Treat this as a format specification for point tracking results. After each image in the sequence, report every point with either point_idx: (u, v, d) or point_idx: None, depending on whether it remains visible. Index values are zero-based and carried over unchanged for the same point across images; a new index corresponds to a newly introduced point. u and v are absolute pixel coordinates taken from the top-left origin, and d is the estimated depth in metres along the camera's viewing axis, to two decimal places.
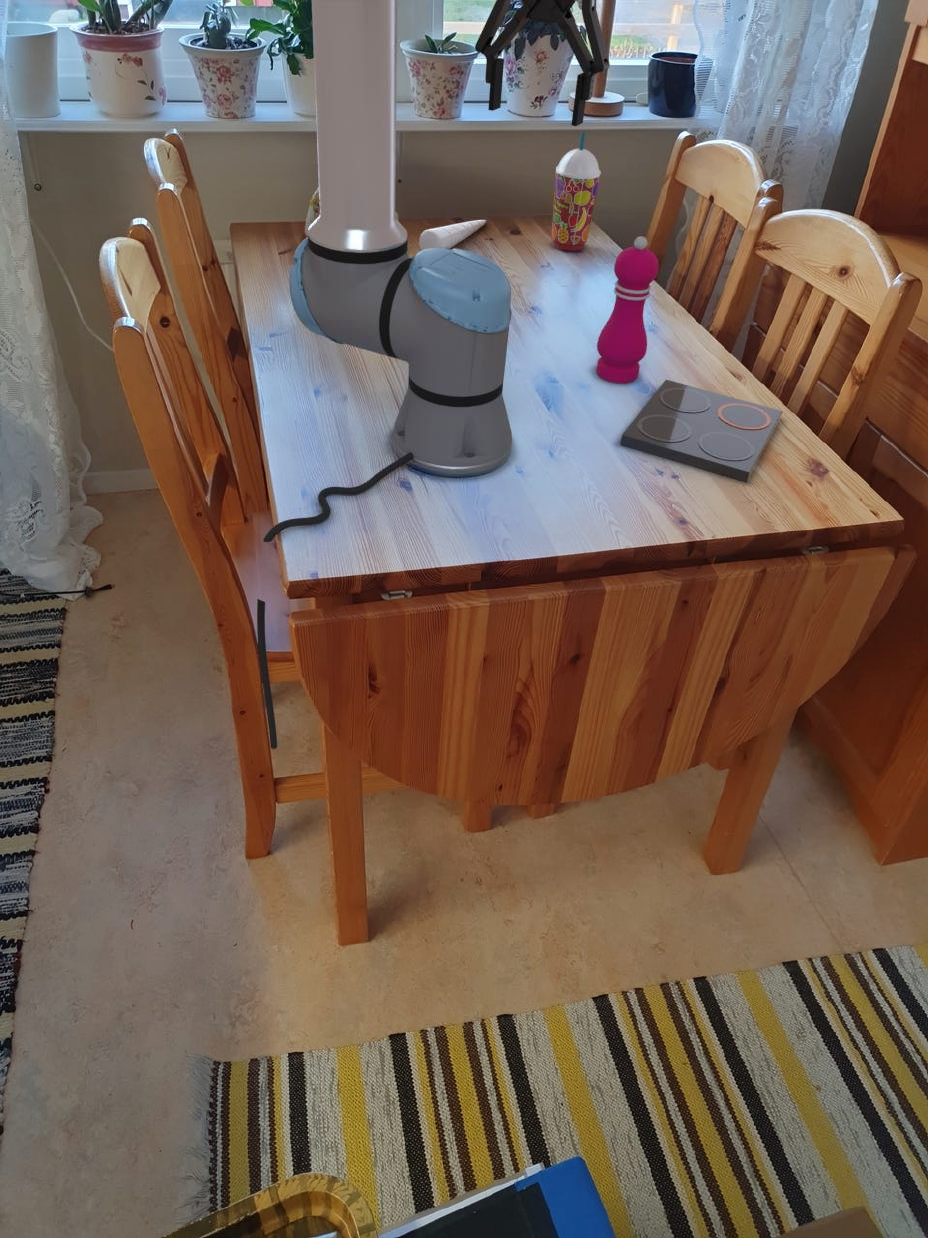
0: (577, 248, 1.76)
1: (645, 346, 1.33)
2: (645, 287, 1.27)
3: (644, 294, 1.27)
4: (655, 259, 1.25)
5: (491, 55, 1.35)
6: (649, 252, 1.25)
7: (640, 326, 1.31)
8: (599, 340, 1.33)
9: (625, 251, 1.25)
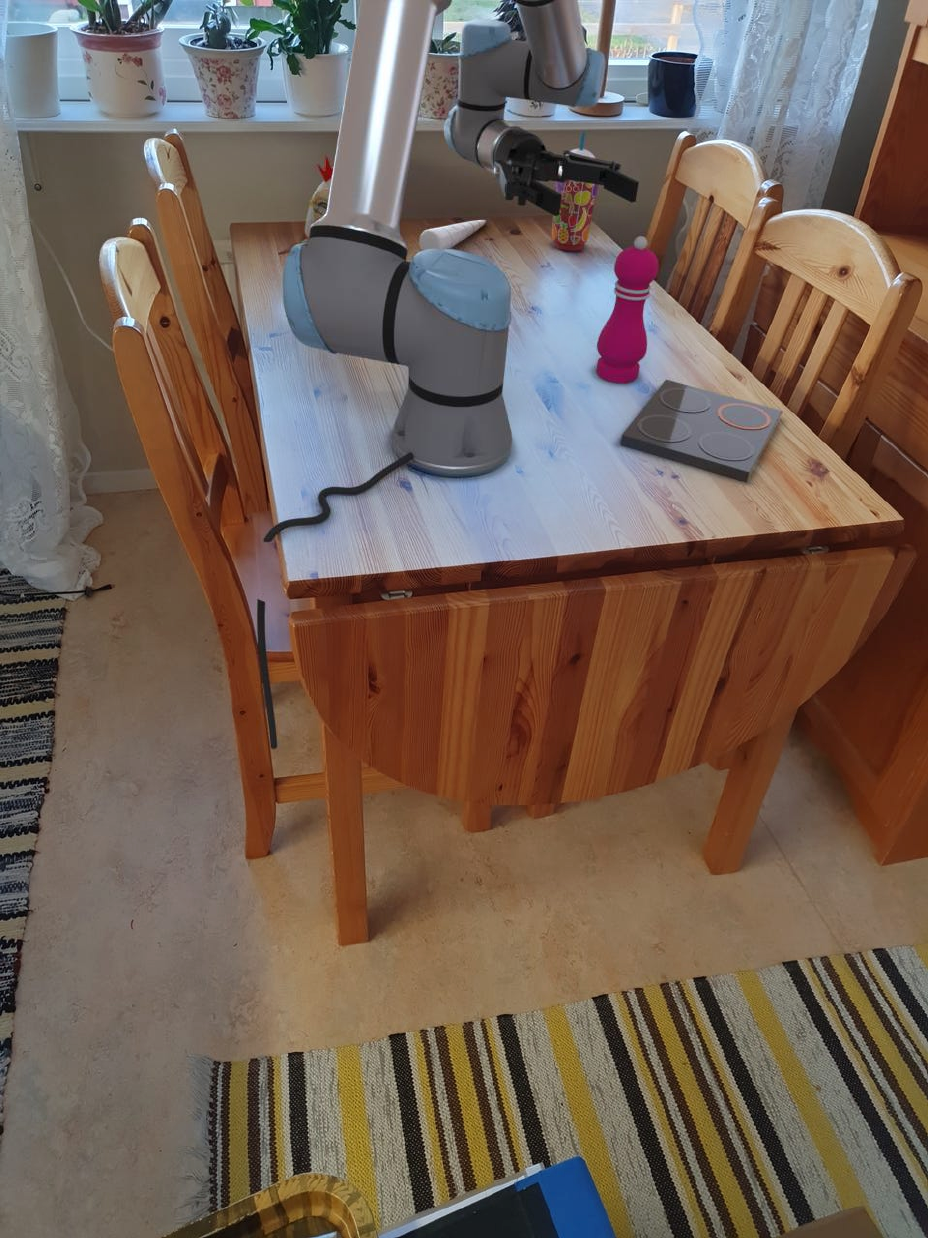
0: (577, 248, 1.76)
1: (645, 346, 1.33)
2: (645, 287, 1.27)
3: (644, 294, 1.27)
4: (655, 259, 1.25)
5: (525, 179, 1.29)
6: (649, 252, 1.25)
7: (640, 326, 1.31)
8: (599, 340, 1.33)
9: (625, 251, 1.25)
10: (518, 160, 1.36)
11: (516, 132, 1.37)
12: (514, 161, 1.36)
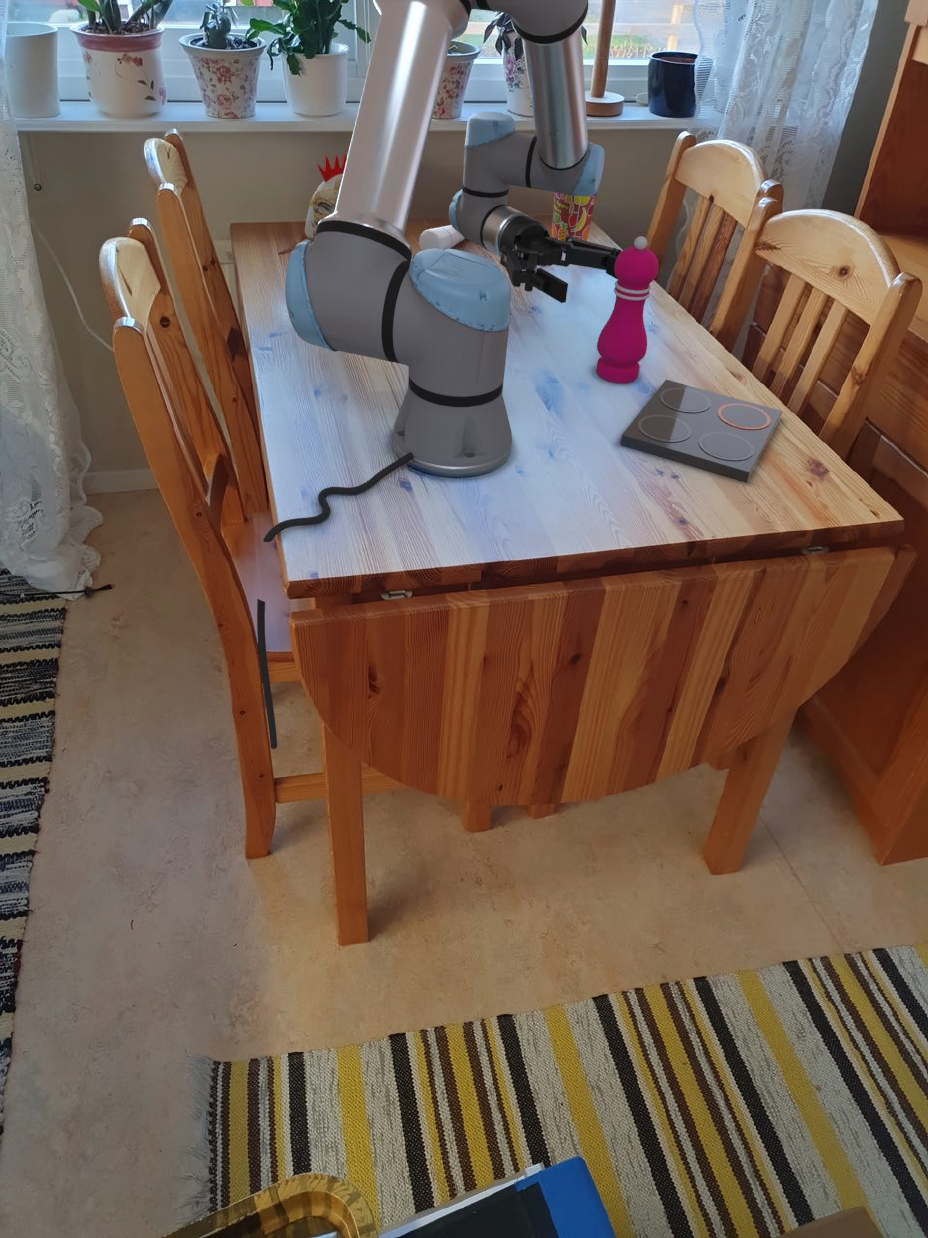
0: None
1: (645, 346, 1.33)
2: (645, 287, 1.27)
3: (644, 294, 1.27)
4: (655, 259, 1.25)
5: (532, 267, 1.34)
6: (649, 252, 1.25)
7: (640, 326, 1.31)
8: (599, 340, 1.33)
9: (625, 251, 1.25)
10: (524, 246, 1.41)
11: (521, 219, 1.43)
12: (519, 247, 1.41)
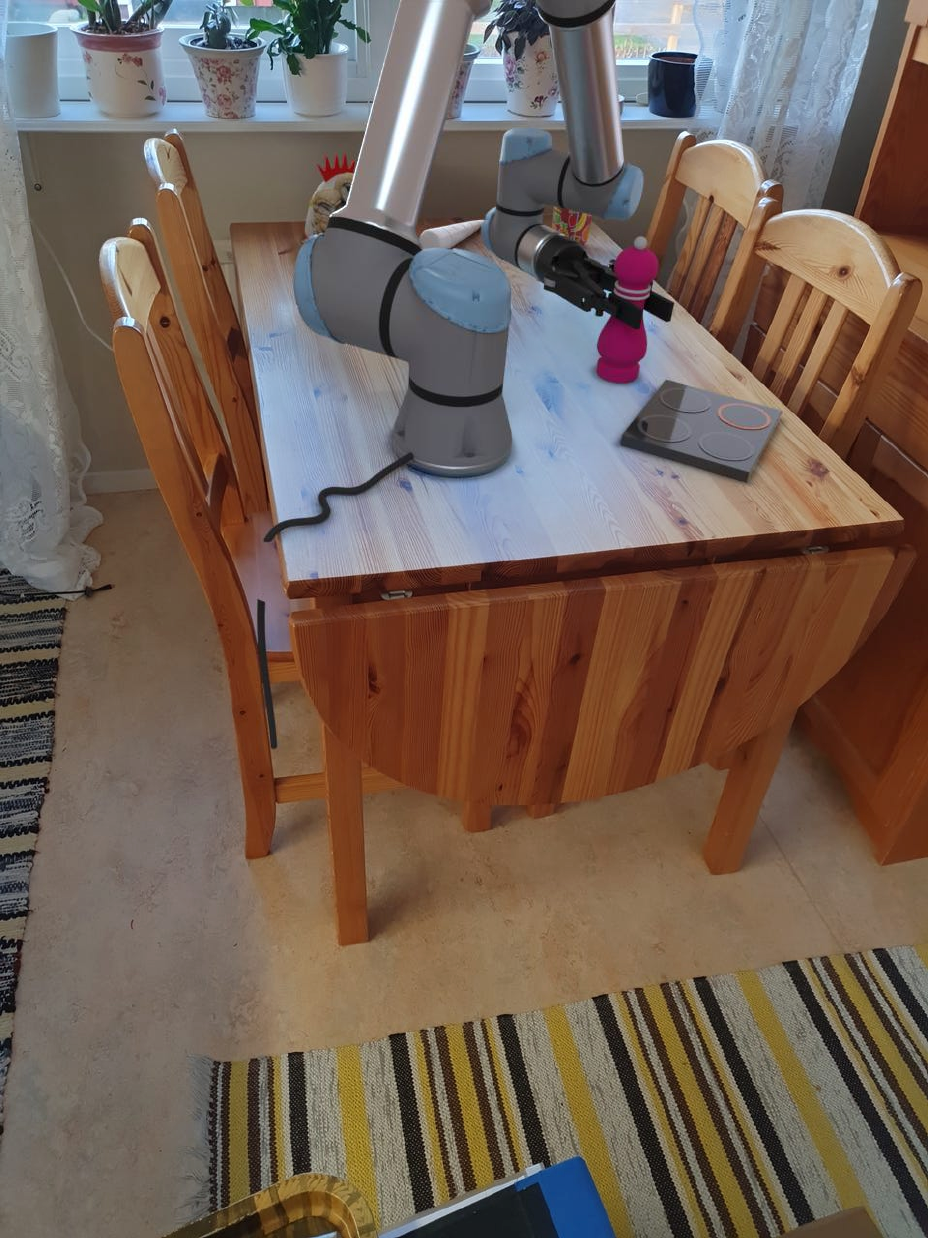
0: None
1: (645, 346, 1.33)
2: (645, 287, 1.27)
3: (644, 294, 1.27)
4: (655, 259, 1.25)
5: (603, 292, 1.29)
6: (649, 252, 1.25)
7: (640, 326, 1.31)
8: (599, 340, 1.33)
9: (625, 251, 1.25)
10: (562, 268, 1.35)
11: (559, 239, 1.37)
12: (557, 269, 1.35)
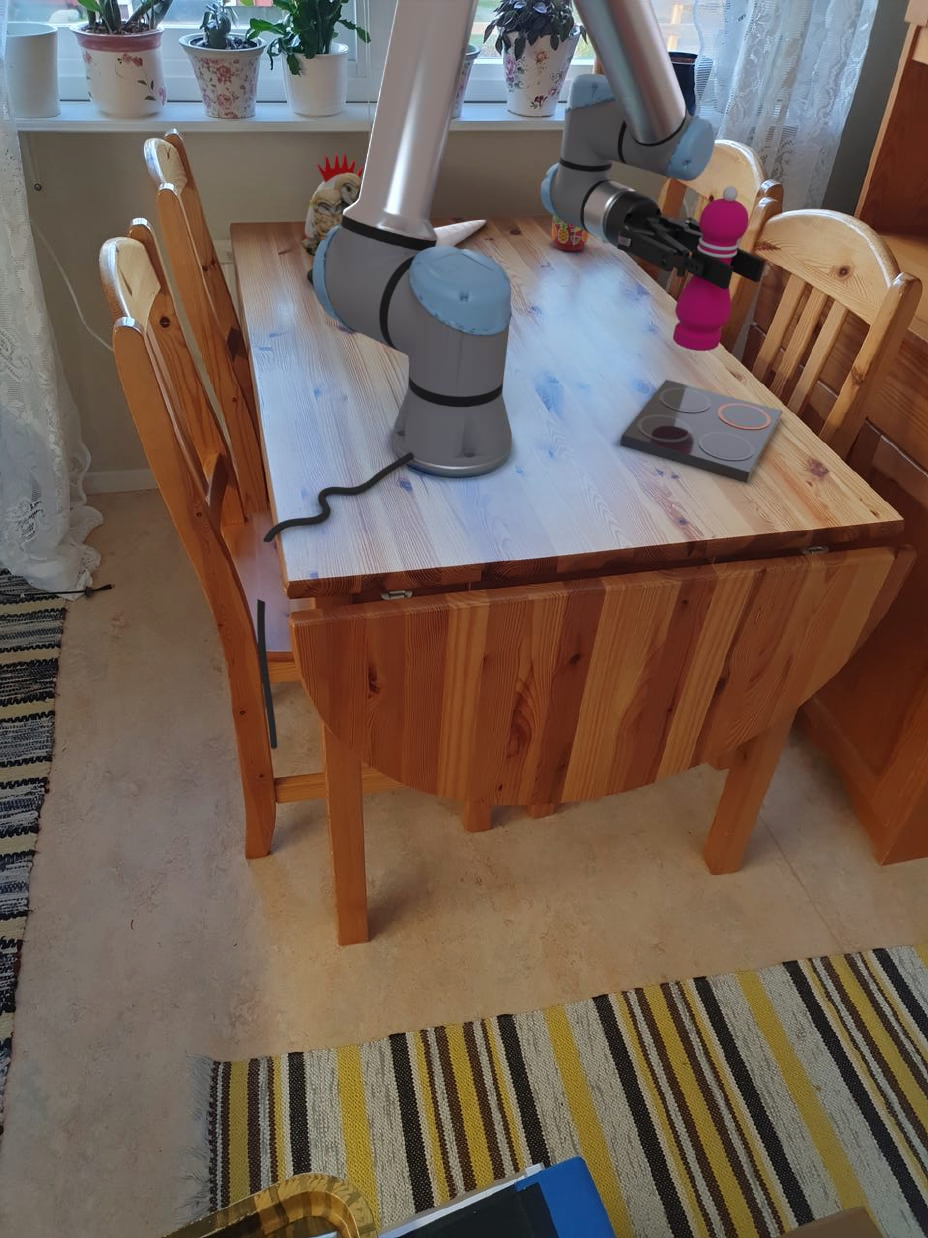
0: (577, 248, 1.76)
1: (729, 309, 1.22)
2: (733, 243, 1.16)
3: (732, 251, 1.16)
4: (746, 212, 1.14)
5: (686, 249, 1.18)
6: (739, 204, 1.14)
7: None
8: (679, 303, 1.22)
9: (713, 203, 1.14)
10: (636, 226, 1.24)
11: (632, 195, 1.26)
12: (632, 227, 1.24)
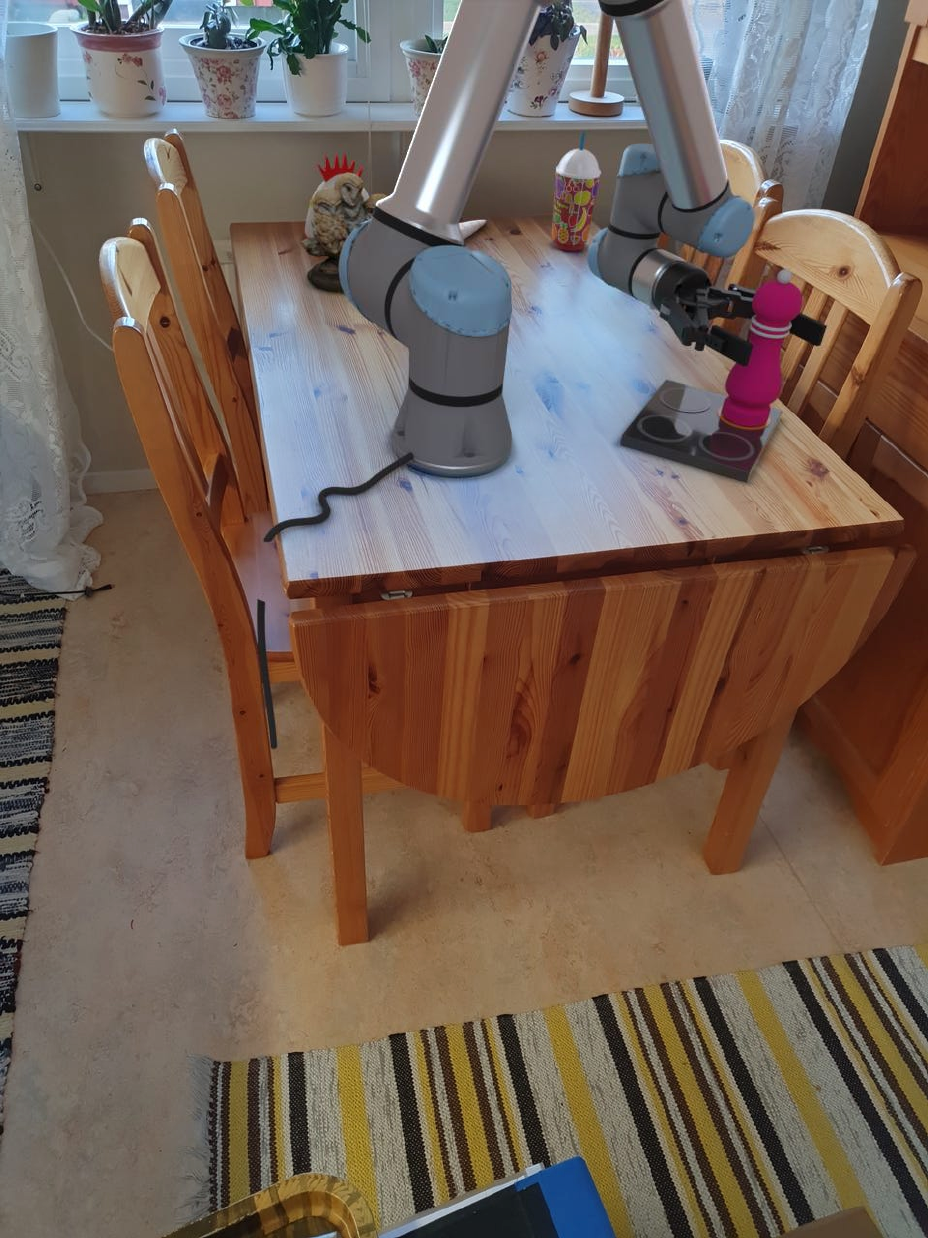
0: (577, 248, 1.76)
1: (780, 387, 1.22)
2: (786, 324, 1.16)
3: (785, 332, 1.16)
4: (800, 294, 1.14)
5: (706, 324, 1.17)
6: (794, 286, 1.14)
7: (777, 366, 1.20)
8: (729, 380, 1.23)
9: (767, 285, 1.14)
10: (687, 297, 1.24)
11: (682, 265, 1.26)
12: (682, 298, 1.24)
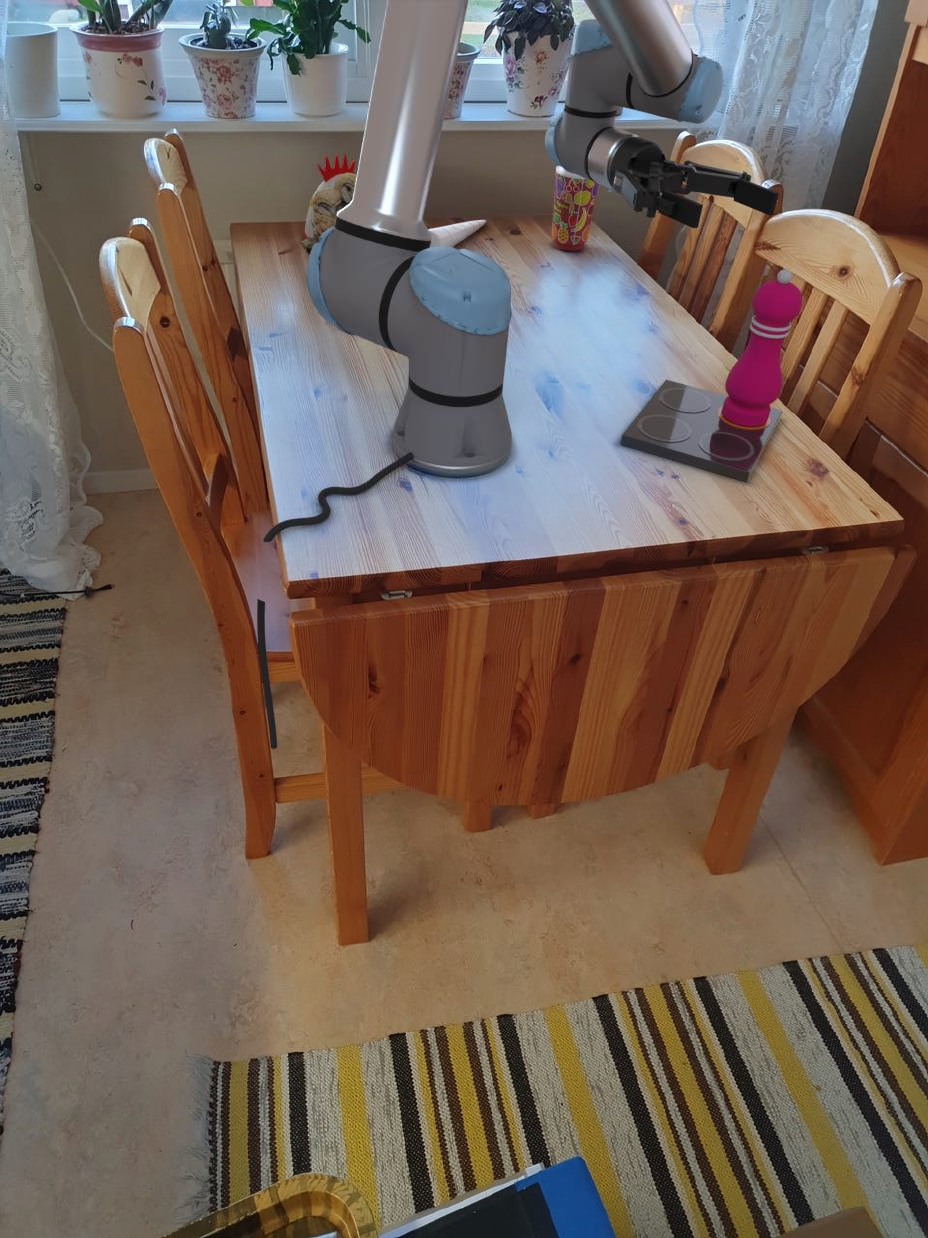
0: (577, 248, 1.76)
1: (780, 387, 1.22)
2: (786, 324, 1.16)
3: (785, 332, 1.16)
4: (800, 294, 1.14)
5: (657, 189, 1.17)
6: (794, 286, 1.14)
7: (777, 366, 1.20)
8: (729, 380, 1.23)
9: (767, 285, 1.14)
10: (641, 170, 1.24)
11: (636, 140, 1.26)
12: (636, 171, 1.24)
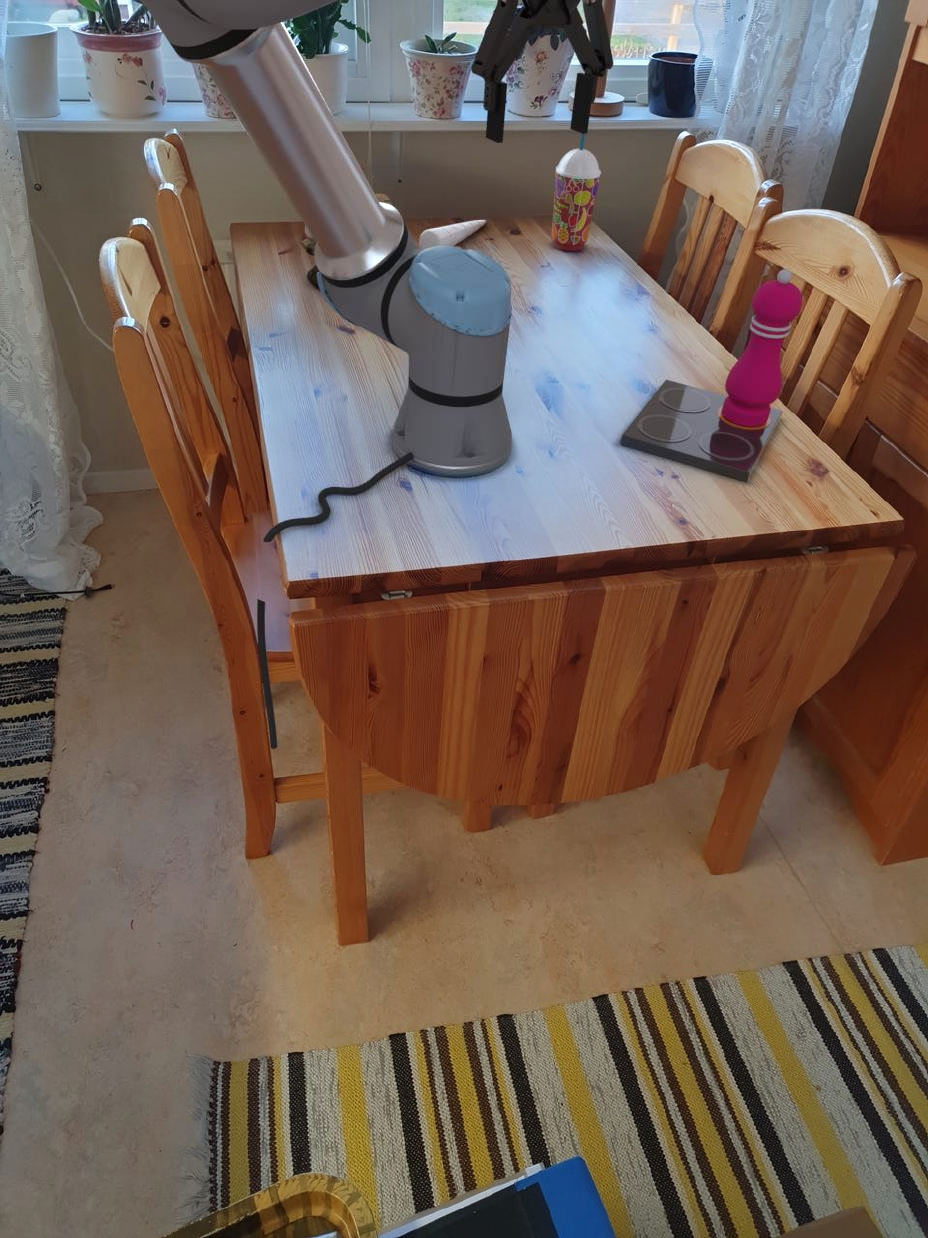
0: (577, 248, 1.76)
1: (780, 387, 1.22)
2: (786, 324, 1.16)
3: (785, 332, 1.16)
4: (800, 294, 1.14)
5: (500, 77, 1.10)
6: (794, 286, 1.14)
7: (777, 366, 1.20)
8: (729, 380, 1.23)
9: (767, 285, 1.14)
10: None
11: None
12: None
